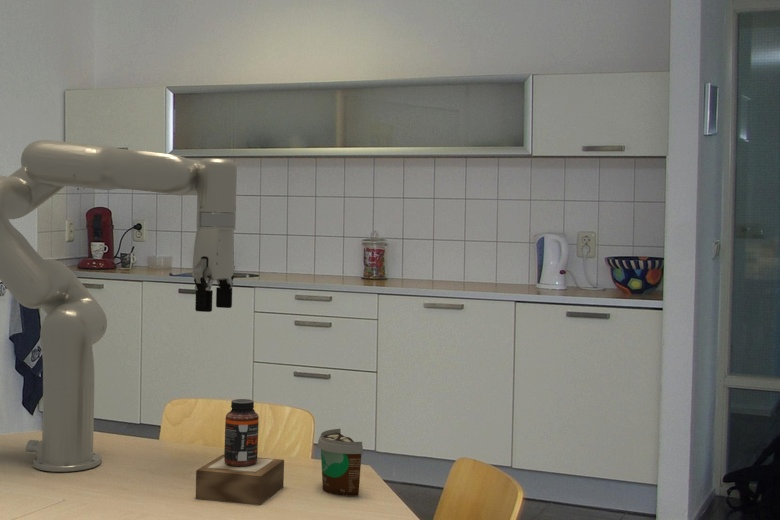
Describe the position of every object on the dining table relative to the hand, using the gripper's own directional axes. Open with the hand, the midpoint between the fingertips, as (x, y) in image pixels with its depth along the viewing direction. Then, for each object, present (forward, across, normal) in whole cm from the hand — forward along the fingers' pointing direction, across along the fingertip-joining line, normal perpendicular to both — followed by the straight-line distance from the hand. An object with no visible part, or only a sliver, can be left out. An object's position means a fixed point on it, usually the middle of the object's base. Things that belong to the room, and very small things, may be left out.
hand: (214, 309), depth 183 cm
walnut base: (+31, +14, +12) cm, 36 cm away
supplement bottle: (+26, +14, +12) cm, 32 cm away
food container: (+32, +7, +27) cm, 42 cm away
